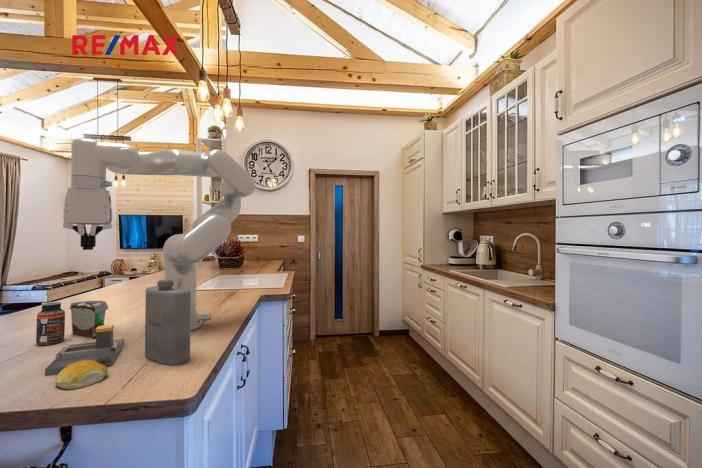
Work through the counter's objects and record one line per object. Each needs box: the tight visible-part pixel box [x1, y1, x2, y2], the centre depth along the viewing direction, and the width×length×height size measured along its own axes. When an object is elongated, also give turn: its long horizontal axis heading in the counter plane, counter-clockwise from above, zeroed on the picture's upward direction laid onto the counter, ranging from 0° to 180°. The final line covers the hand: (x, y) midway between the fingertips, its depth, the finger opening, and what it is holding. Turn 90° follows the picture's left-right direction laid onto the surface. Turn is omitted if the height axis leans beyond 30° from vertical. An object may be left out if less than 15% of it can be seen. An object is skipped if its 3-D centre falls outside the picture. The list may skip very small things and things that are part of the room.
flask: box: [144, 278, 191, 366], centre depth 81 cm, size 15×6×20 cm, turn 60°
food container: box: [69, 300, 109, 340], centre depth 99 cm, size 12×6×10 cm, turn 71°
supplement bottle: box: [35, 301, 66, 346], centre depth 91 cm, size 6×6×11 cm
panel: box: [44, 338, 125, 377], centre depth 80 cm, size 12×17×3 cm
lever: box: [95, 324, 115, 348], centre depth 82 cm, size 3×3×6 cm
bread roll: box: [54, 360, 109, 390], centre depth 68 cm, size 8×9×4 cm
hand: (88, 249), depth 89 cm, fingers closed
